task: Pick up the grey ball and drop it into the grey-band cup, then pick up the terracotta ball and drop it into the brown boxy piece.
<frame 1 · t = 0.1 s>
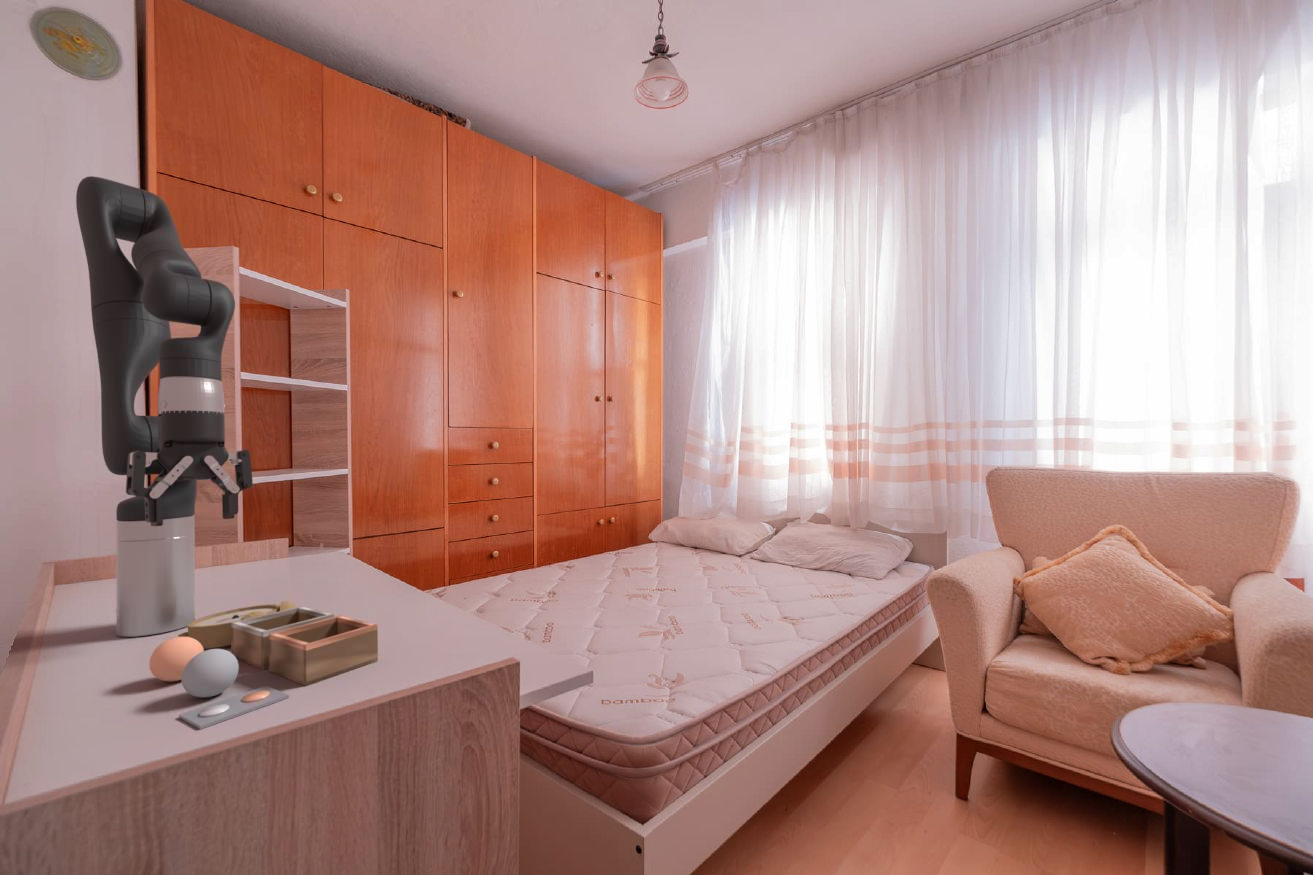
hand: (194, 522, 82), 17 cm above the table, tool pointing down, fingers open, 8 cm apart
target card: (235, 707, 60), on the table
terracotta ball: (177, 658, 67), point 2 cm above the table
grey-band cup: (283, 652, 76), on the table
grey ball: (210, 672, 63), point 2 cm above the table
alarm clock: (247, 639, 83), on the table
brown boxy piece: (324, 666, 71), on the table
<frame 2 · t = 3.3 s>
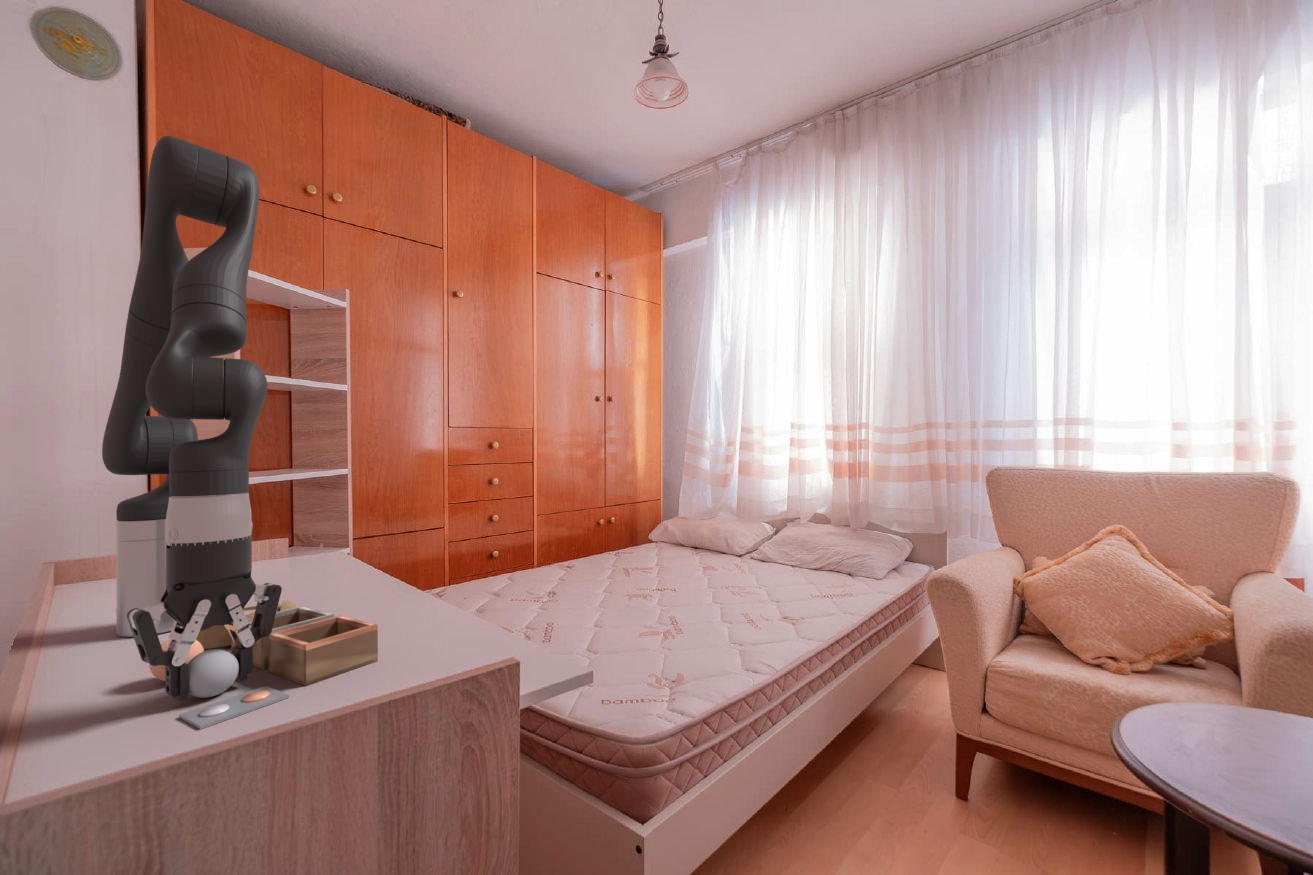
hand: (210, 687, 63), 1 cm above the table, tool pointing down, fingers closed on grey ball, 5 cm apart
grey ball: (210, 672, 63), point 2 cm above the table, touching gripper
everything else where it was.
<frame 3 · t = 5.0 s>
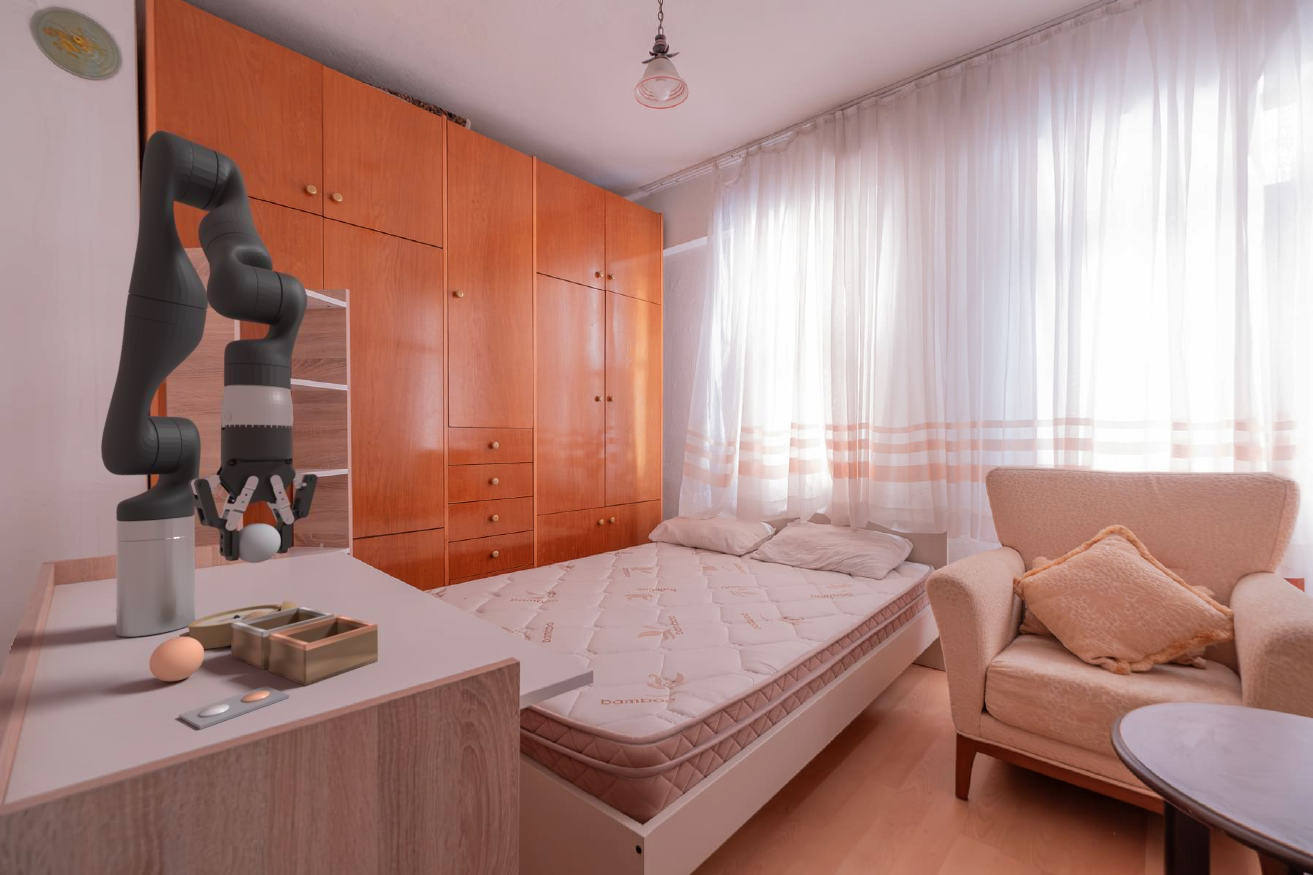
hand: (257, 555, 72), 14 cm above the table, tool pointing down, fingers closed on grey ball, 5 cm apart
grey ball: (257, 542, 72), point 15 cm above the table, touching gripper
everything else where it was.
when the fingers open (6 cm above the table, at t = 7.2 s): grey ball drops 5 cm, resting on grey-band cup.
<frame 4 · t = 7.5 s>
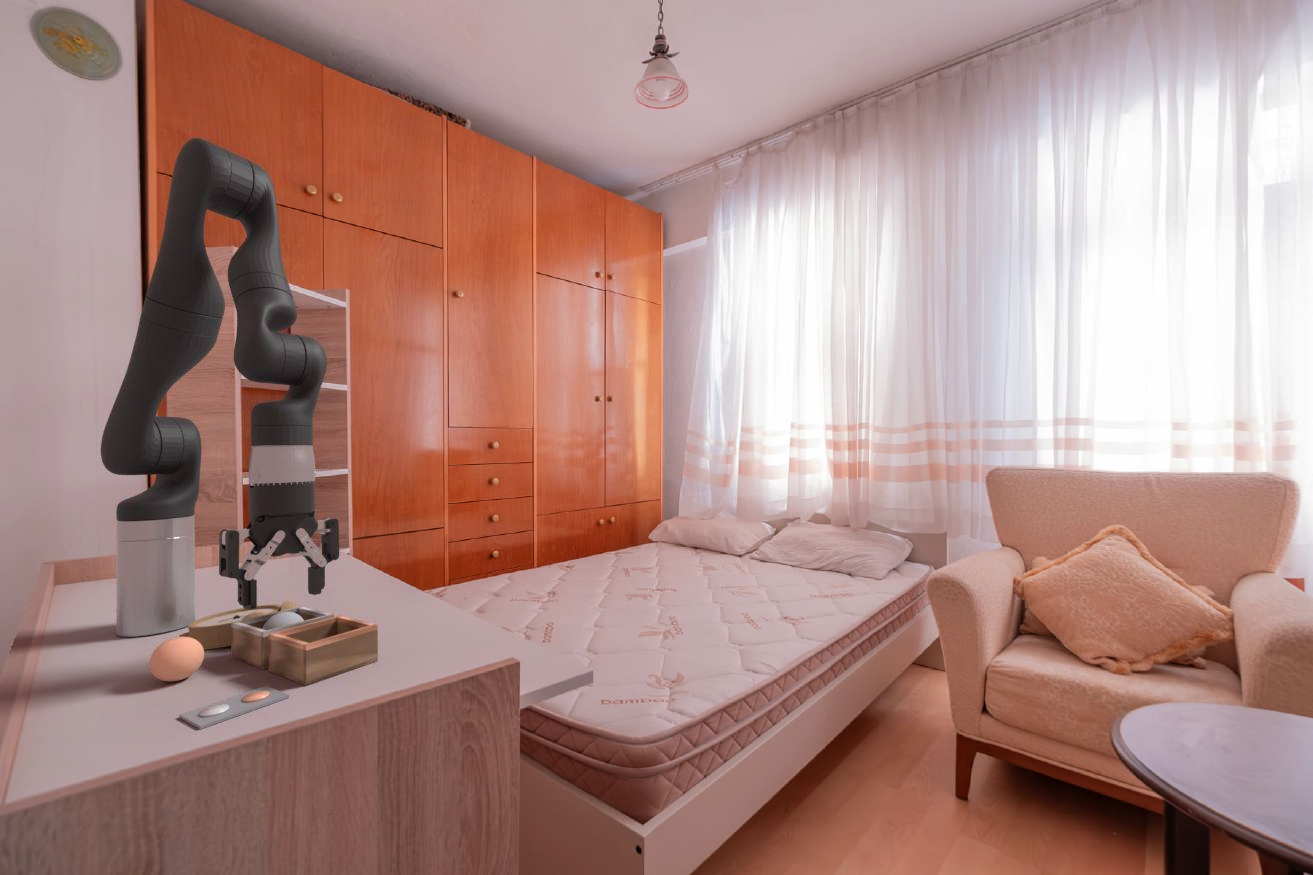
hand: (283, 600, 76), 7 cm above the table, tool pointing down, fingers open, 7 cm apart
grey ball: (283, 630, 76), point 3 cm above the table, touching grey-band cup
everything else where it was.
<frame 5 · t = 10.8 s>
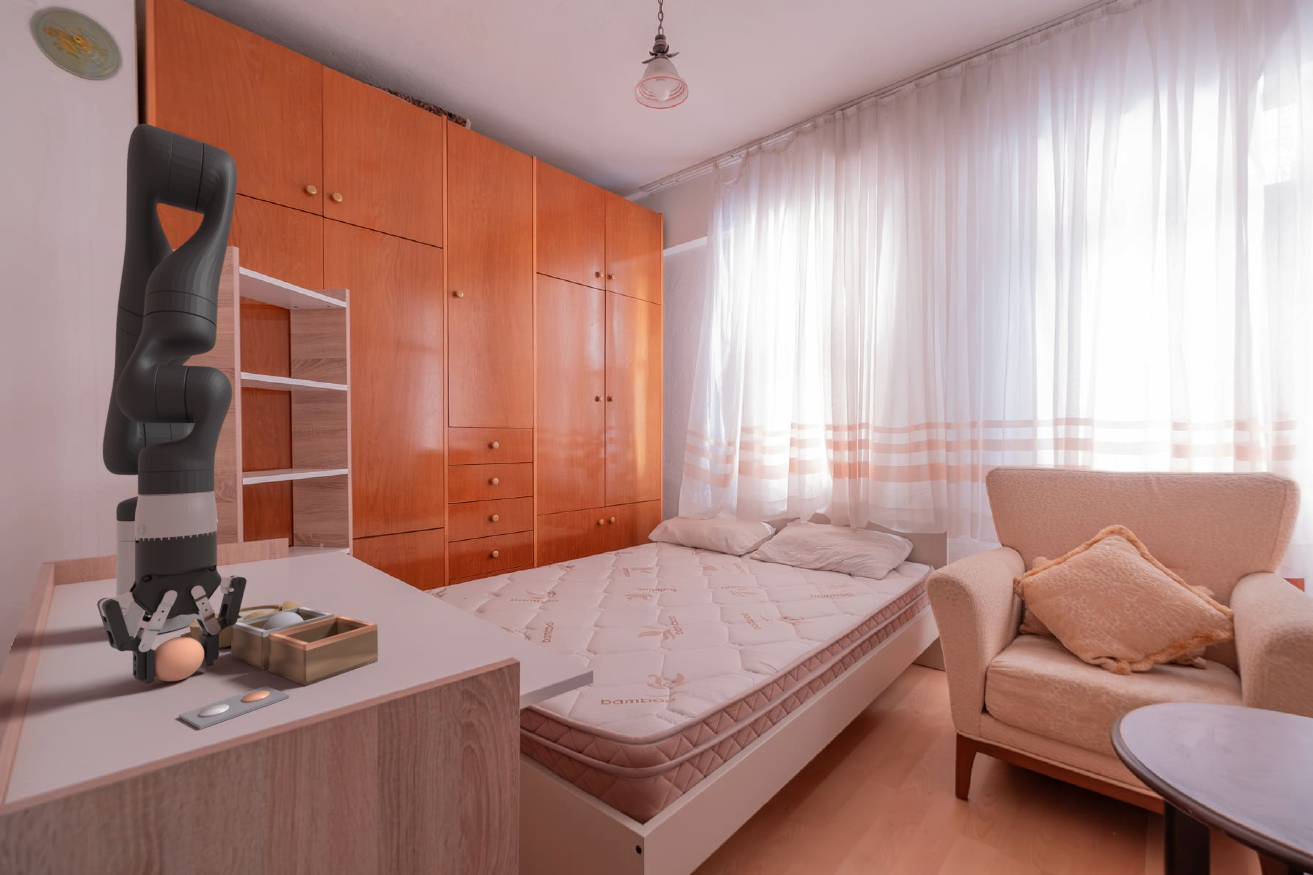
hand: (177, 672, 67), 1 cm above the table, tool pointing down, fingers closed on terracotta ball, 5 cm apart
terracotta ball: (177, 658, 67), point 2 cm above the table, touching gripper
everything else where it was.
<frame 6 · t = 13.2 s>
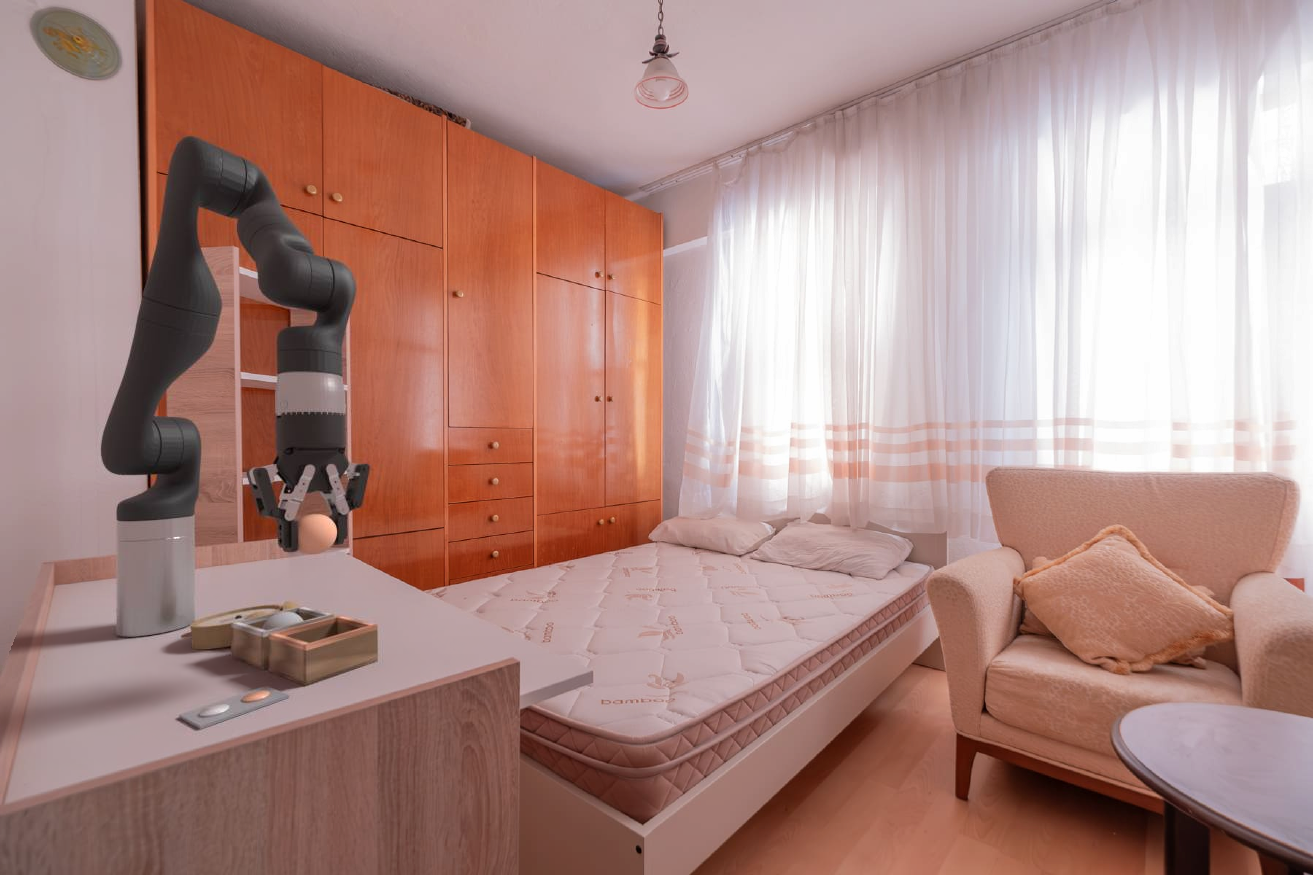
hand: (314, 547, 70), 15 cm above the table, tool pointing down, fingers closed on terracotta ball, 5 cm apart
terracotta ball: (313, 533, 70), point 17 cm above the table, touching gripper
everything else where it was.
when the fingers open (6 cm above the table, at t = 15.3 s): terracotta ball drops 5 cm, resting on brown boxy piece.
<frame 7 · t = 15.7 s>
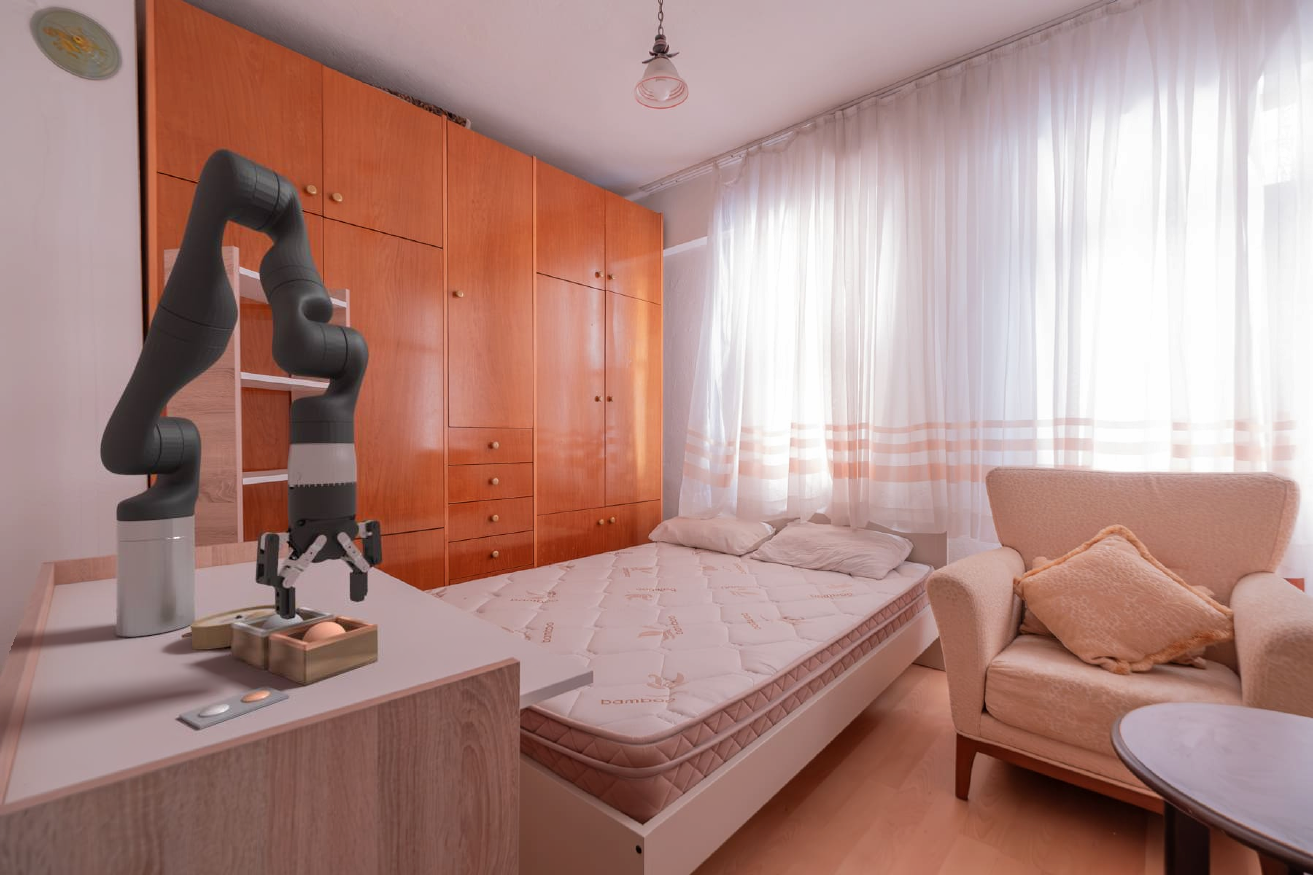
hand: (324, 609, 71), 7 cm above the table, tool pointing down, fingers open, 8 cm apart
terracotta ball: (324, 642, 71), point 3 cm above the table, touching brown boxy piece
everything else where it was.
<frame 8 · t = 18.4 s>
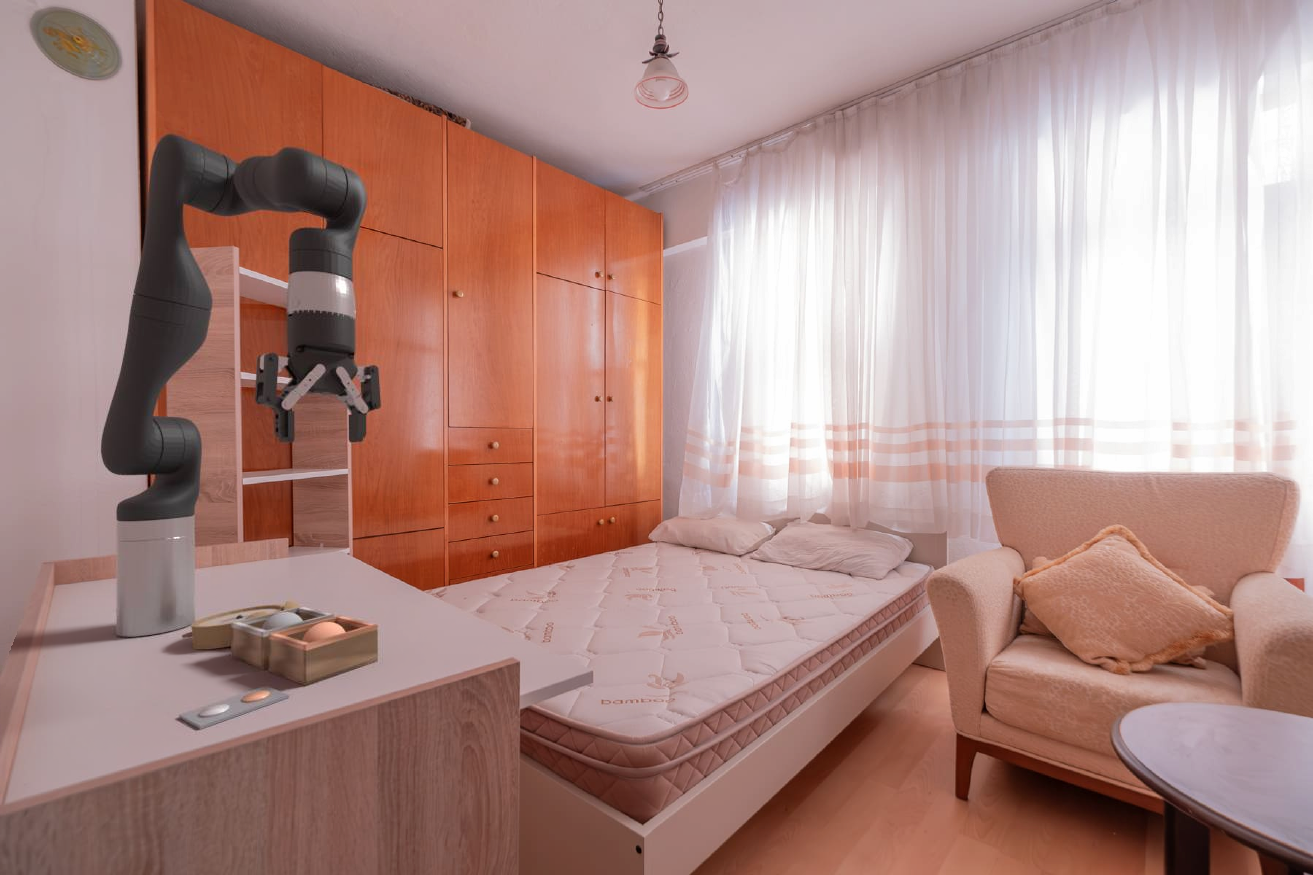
hand: (322, 442, 71), 28 cm above the table, tool pointing down, fingers open, 8 cm apart
nothing on the table moved.
at the end: grey ball 0.1 cm off-centre on the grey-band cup, point 2.9 cm above the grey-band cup's base; terracotta ball 0.0 cm off-centre on the brown boxy piece, point 2.9 cm above the brown boxy piece's base; the gripper is holding nothing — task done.
